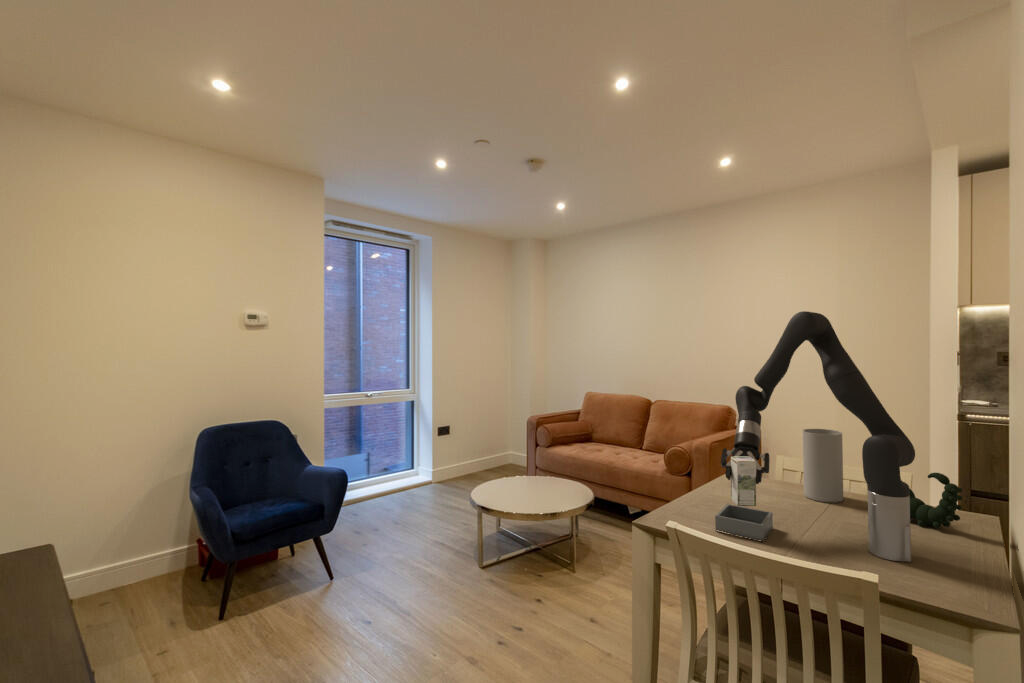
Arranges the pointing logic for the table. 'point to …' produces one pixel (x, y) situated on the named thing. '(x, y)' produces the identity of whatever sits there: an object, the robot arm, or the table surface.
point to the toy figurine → (943, 511)
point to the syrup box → (743, 480)
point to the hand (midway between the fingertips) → (742, 480)
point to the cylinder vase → (823, 465)
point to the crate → (744, 522)
